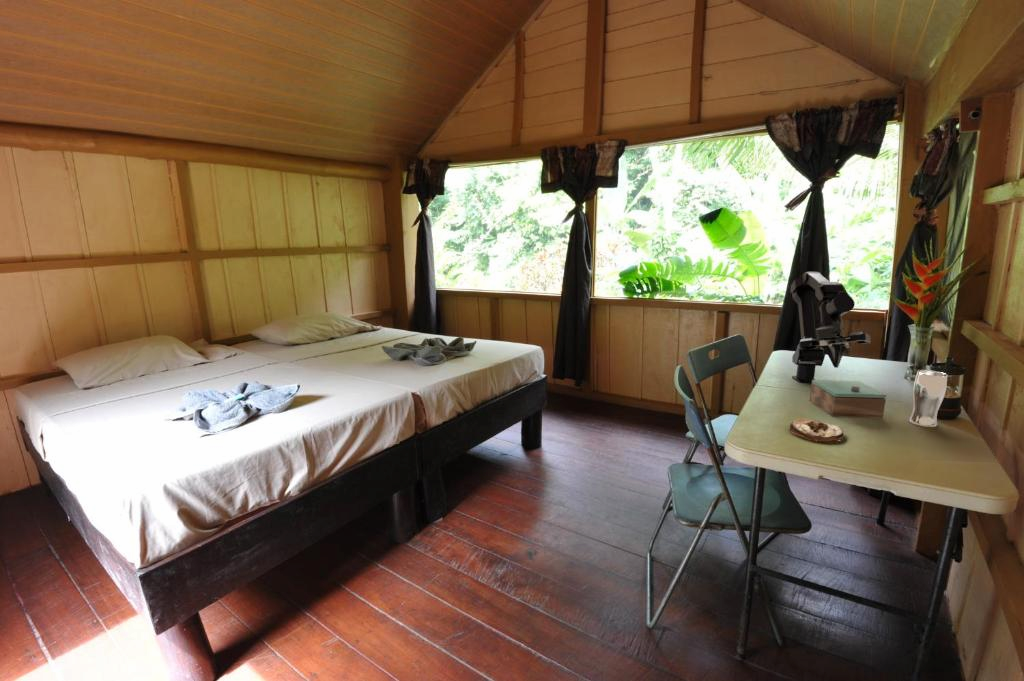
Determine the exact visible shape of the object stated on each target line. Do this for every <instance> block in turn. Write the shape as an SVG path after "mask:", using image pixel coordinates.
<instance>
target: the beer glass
mask: <svg viewBox="0 0 1024 681" xmlns="http://www.w3.org/2000/svg"><path fill="white" fill-rule="evenodd" d="M947 384H948V374H947V373H945V372H942V371H936V370H929V369H919V370H917V371H916V375H915V378H914V382H913V389H912V396H913V397H912V399H913V400H912V401H913V403H912V404H913V408H912V412H911V415H910V417H909V422H910V423H911V424H914V425H916V426H920V427H924V428H936V427H937V426H938V420H937V419H938V417H937V416H938V411H939V409H940V407H941V405H942V404H943V403H942V402H943V401H944V398H945V396H946V390H947V387H948V386H947Z"/></svg>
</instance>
